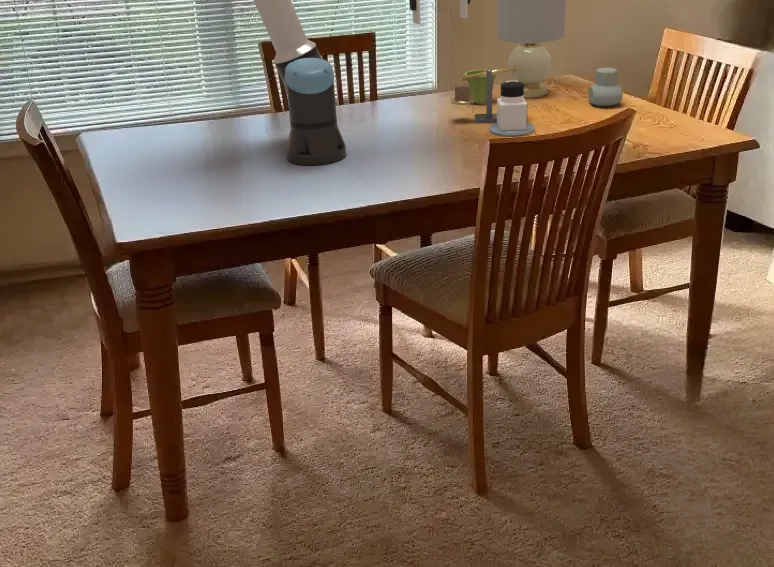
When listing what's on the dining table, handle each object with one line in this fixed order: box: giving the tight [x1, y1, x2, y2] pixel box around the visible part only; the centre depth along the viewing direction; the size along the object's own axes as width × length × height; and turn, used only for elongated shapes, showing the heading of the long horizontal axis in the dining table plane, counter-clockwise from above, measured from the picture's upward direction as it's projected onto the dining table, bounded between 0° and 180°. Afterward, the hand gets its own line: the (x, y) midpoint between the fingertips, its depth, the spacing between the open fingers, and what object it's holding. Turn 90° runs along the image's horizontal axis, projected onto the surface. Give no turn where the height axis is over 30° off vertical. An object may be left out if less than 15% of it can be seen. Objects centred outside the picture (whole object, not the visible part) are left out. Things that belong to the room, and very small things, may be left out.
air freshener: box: [587, 67, 624, 107], centre depth 247 cm, size 11×8×10 cm
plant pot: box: [464, 69, 497, 105], centre depth 257 cm, size 9×9×9 cm
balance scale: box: [450, 66, 528, 124], centre depth 237 cm, size 21×6×15 cm, turn 84°
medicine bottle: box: [496, 80, 528, 131], centre depth 227 cm, size 7×7×12 cm
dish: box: [488, 122, 536, 137], centre depth 230 cm, size 12×12×1 cm
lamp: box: [496, 0, 567, 99], centre depth 257 cm, size 20×20×35 cm
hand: (440, 20), depth 222 cm, fingers open, 13 cm apart
